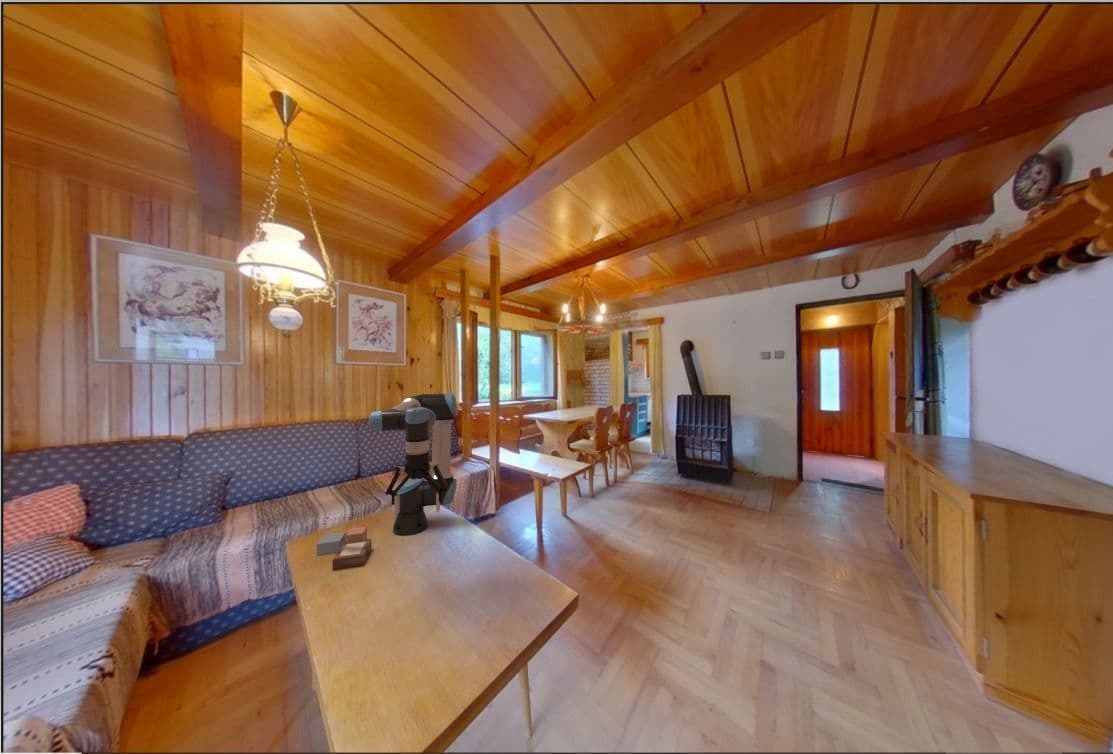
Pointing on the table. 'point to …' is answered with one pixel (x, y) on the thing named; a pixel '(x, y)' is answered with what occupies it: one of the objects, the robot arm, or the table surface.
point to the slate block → (331, 543)
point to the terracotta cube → (357, 534)
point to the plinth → (352, 555)
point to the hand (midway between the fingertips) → (417, 512)
